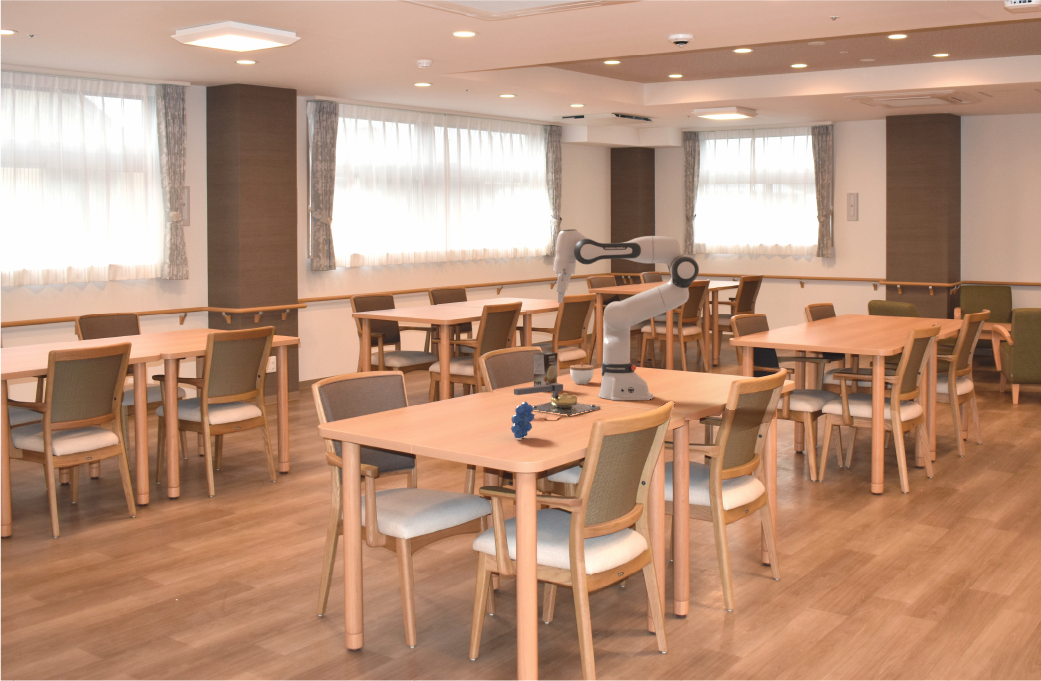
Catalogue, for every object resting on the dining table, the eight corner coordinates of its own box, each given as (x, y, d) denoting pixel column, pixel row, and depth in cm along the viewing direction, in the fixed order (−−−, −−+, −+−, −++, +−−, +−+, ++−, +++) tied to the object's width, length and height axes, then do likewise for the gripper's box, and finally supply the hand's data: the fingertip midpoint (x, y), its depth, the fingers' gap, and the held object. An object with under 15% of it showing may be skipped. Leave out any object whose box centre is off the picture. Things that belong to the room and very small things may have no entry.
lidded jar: (567, 384, 432) (567, 363, 431) (572, 380, 442) (573, 360, 441) (590, 385, 428) (590, 364, 427) (595, 382, 439) (596, 361, 438)
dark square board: (557, 403, 384) (558, 398, 384) (600, 408, 372) (600, 403, 372) (527, 410, 368) (527, 405, 368) (570, 416, 356) (570, 411, 356)
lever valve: (565, 400, 377) (565, 380, 376) (582, 404, 369) (582, 383, 368) (507, 408, 360) (507, 387, 359) (524, 412, 352) (524, 390, 351)
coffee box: (545, 392, 410) (545, 354, 408) (533, 390, 414) (533, 353, 412) (557, 389, 418) (557, 352, 416) (545, 388, 421) (545, 351, 419)
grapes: (521, 433, 326) (521, 398, 324) (538, 436, 322) (538, 400, 320) (501, 439, 316) (501, 403, 315) (519, 442, 312) (519, 405, 311)
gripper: (571, 270, 385) (567, 305, 386) (572, 268, 405) (569, 301, 407) (555, 268, 385) (551, 303, 387) (557, 267, 405) (554, 299, 407)
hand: (560, 302), depth 397 cm, fingers open, 8 cm apart
